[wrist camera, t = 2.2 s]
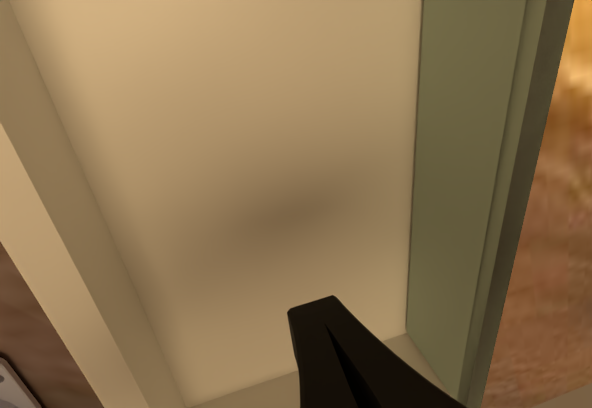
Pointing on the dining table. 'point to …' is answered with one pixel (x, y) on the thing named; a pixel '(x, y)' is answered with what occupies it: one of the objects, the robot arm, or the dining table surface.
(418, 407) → the robot arm
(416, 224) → the panel
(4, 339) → the dining table surface
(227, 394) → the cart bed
